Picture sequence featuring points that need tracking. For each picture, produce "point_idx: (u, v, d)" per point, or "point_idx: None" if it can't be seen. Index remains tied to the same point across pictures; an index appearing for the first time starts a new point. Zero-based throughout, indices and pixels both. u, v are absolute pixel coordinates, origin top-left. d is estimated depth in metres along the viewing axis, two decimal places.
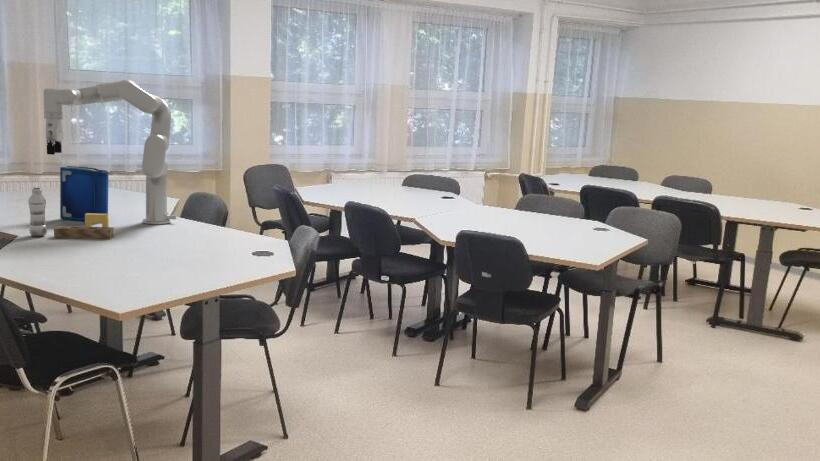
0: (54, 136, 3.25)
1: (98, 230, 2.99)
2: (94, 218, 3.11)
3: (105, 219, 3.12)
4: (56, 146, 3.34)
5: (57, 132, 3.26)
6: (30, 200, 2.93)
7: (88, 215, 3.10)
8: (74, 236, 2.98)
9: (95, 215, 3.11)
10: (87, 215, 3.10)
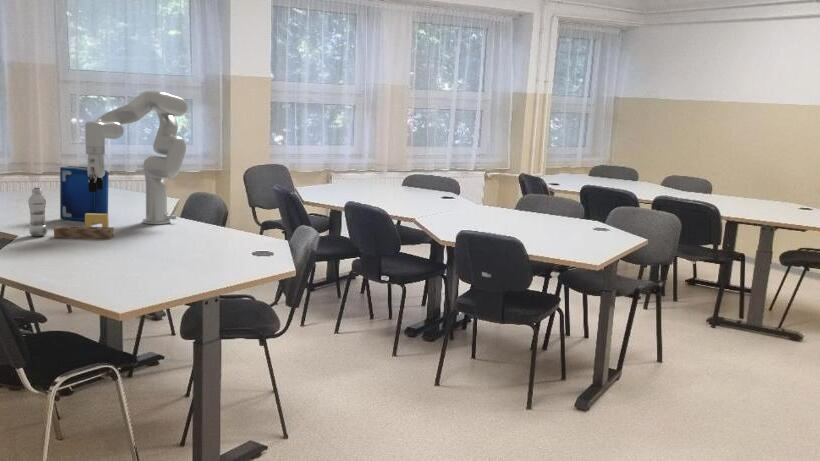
0: (96, 172, 3.04)
1: (98, 230, 2.99)
2: (94, 218, 3.11)
3: (105, 219, 3.12)
4: (97, 182, 3.14)
5: (99, 168, 3.05)
6: (30, 200, 2.93)
7: (88, 215, 3.10)
8: (74, 236, 2.98)
9: (95, 215, 3.11)
10: (87, 215, 3.10)
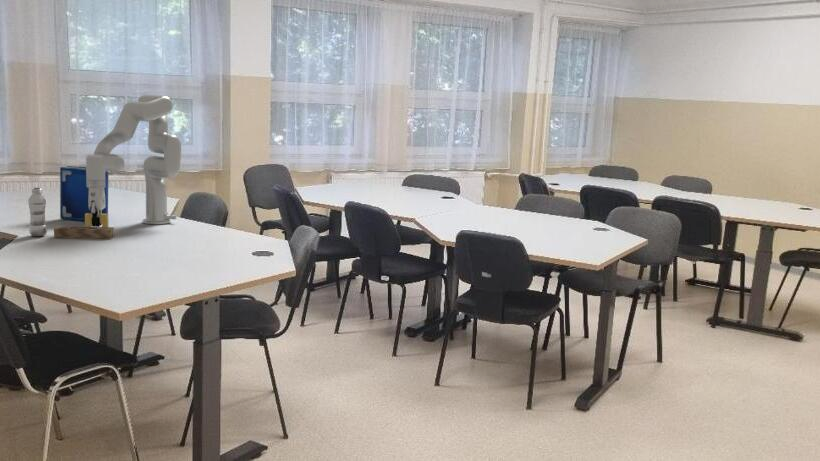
0: (97, 206, 3.07)
1: (98, 230, 2.99)
2: None
3: (105, 219, 3.12)
4: None
5: (100, 201, 3.08)
6: (30, 200, 2.93)
7: (88, 215, 3.10)
8: (74, 236, 2.98)
9: None
10: (87, 215, 3.10)
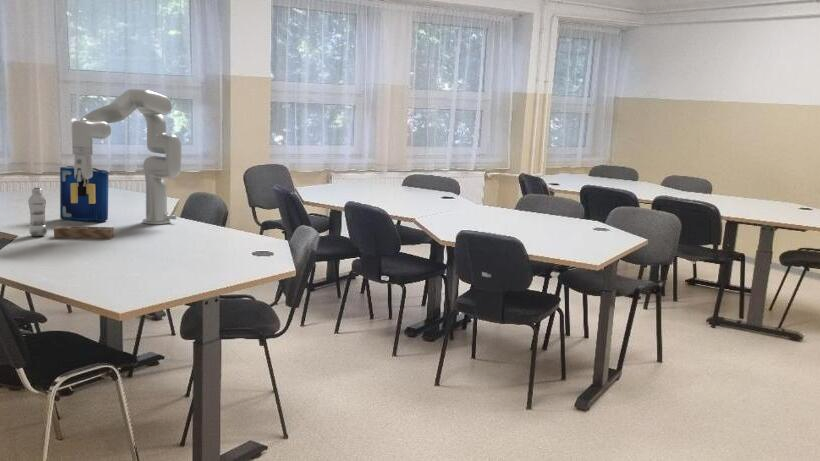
0: (84, 174, 2.92)
1: (98, 230, 2.99)
2: None
3: (92, 189, 2.97)
4: None
5: (87, 169, 2.93)
6: (30, 200, 2.93)
7: (74, 185, 2.96)
8: (74, 236, 2.98)
9: None
10: (73, 185, 2.96)
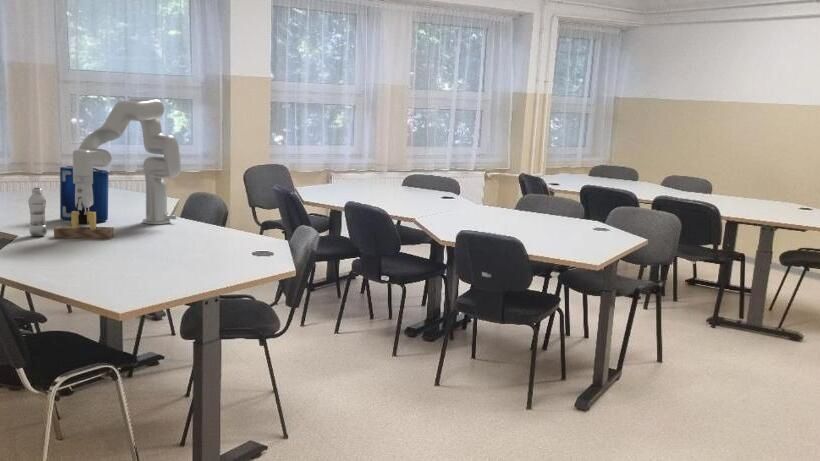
0: (84, 203, 2.94)
1: (98, 230, 2.99)
2: None
3: (92, 217, 2.99)
4: None
5: (87, 198, 2.95)
6: (30, 200, 2.93)
7: (75, 213, 2.98)
8: (74, 236, 2.98)
9: None
10: (74, 213, 2.98)
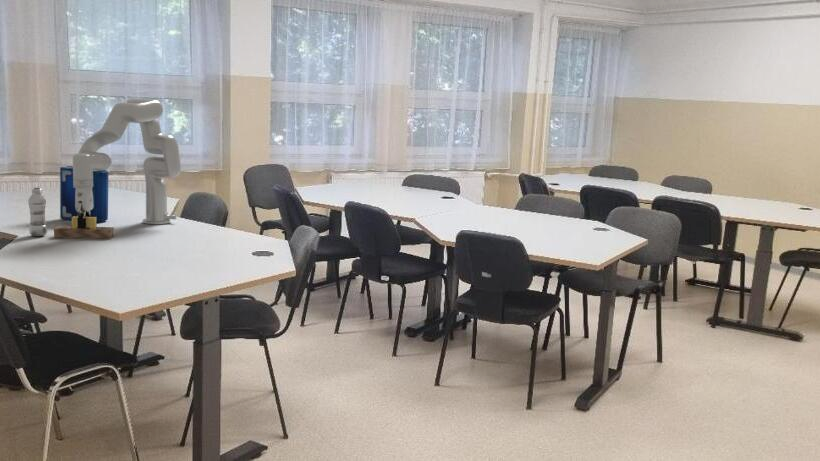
0: (84, 206, 2.94)
1: (98, 230, 2.99)
2: None
3: (93, 222, 3.00)
4: None
5: (88, 202, 2.96)
6: (30, 200, 2.93)
7: (75, 218, 2.98)
8: (74, 236, 2.98)
9: None
10: (74, 218, 2.98)
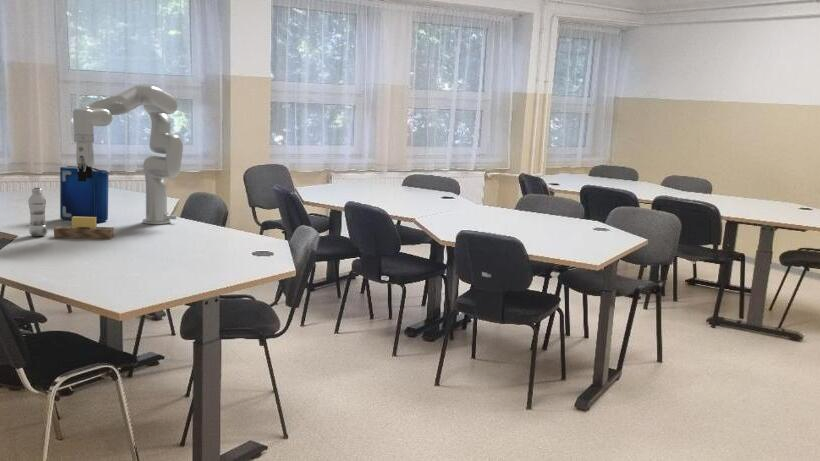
0: (86, 161, 2.96)
1: (98, 230, 2.99)
2: (81, 221, 2.99)
3: (93, 222, 3.00)
4: (86, 171, 3.05)
5: (89, 157, 2.97)
6: (30, 200, 2.93)
7: (75, 218, 2.98)
8: (74, 236, 2.98)
9: (82, 218, 2.99)
10: (74, 218, 2.98)
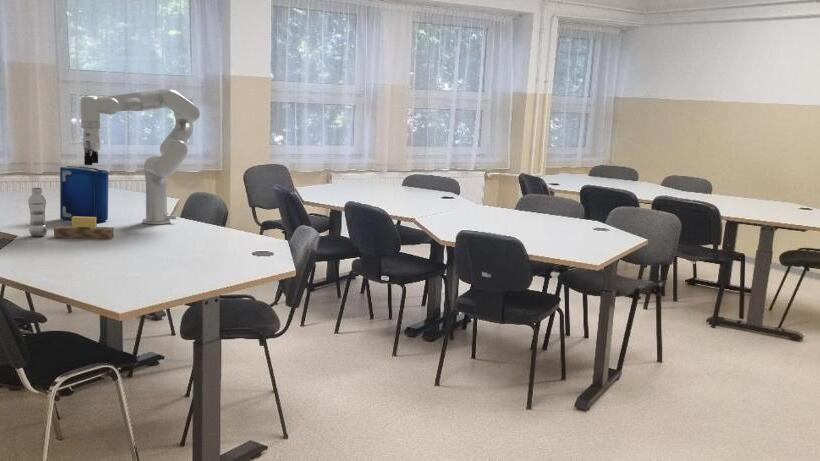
0: (92, 146, 3.14)
1: (98, 230, 2.99)
2: (81, 221, 2.99)
3: (93, 222, 3.00)
4: (93, 156, 3.24)
5: (95, 142, 3.15)
6: (30, 200, 2.93)
7: (75, 218, 2.98)
8: (74, 236, 2.98)
9: (82, 218, 2.99)
10: (74, 218, 2.98)
